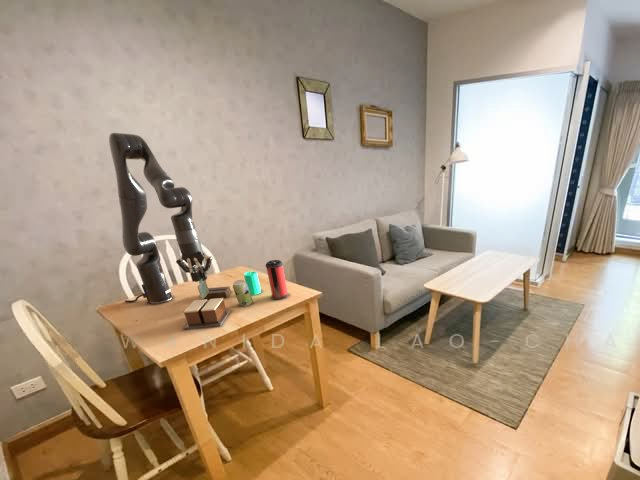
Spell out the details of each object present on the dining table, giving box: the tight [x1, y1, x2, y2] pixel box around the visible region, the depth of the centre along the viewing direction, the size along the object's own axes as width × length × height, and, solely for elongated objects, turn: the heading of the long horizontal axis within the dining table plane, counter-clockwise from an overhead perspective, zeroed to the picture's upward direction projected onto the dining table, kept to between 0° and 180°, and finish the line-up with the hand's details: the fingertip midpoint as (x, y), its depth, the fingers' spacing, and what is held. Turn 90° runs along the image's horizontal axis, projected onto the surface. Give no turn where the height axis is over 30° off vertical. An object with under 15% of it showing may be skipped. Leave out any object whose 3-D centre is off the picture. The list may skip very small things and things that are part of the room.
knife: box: [189, 265, 209, 300], centre depth 139 cm, size 9×2×12 cm, turn 9°
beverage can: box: [232, 279, 253, 307], centre depth 153 cm, size 6×7×12 cm
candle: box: [243, 270, 262, 296], centre depth 166 cm, size 6×6×12 cm
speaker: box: [265, 259, 289, 300], centre depth 160 cm, size 8×8×18 cm
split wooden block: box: [183, 298, 231, 330], centre depth 141 cm, size 14×14×7 cm
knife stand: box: [203, 286, 232, 300], centre depth 166 cm, size 11×8×3 cm
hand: (200, 280), depth 138 cm, fingers closed on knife, 2 cm apart
